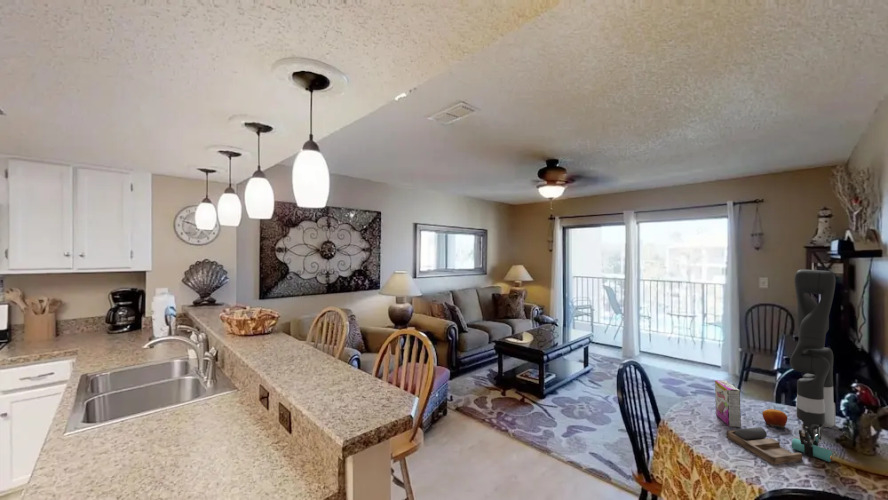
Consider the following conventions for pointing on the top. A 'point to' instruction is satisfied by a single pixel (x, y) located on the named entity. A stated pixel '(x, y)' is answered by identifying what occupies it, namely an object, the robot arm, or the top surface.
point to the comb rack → (766, 449)
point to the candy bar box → (728, 403)
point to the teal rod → (817, 450)
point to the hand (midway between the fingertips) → (811, 453)
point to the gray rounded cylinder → (751, 433)
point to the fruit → (775, 418)
